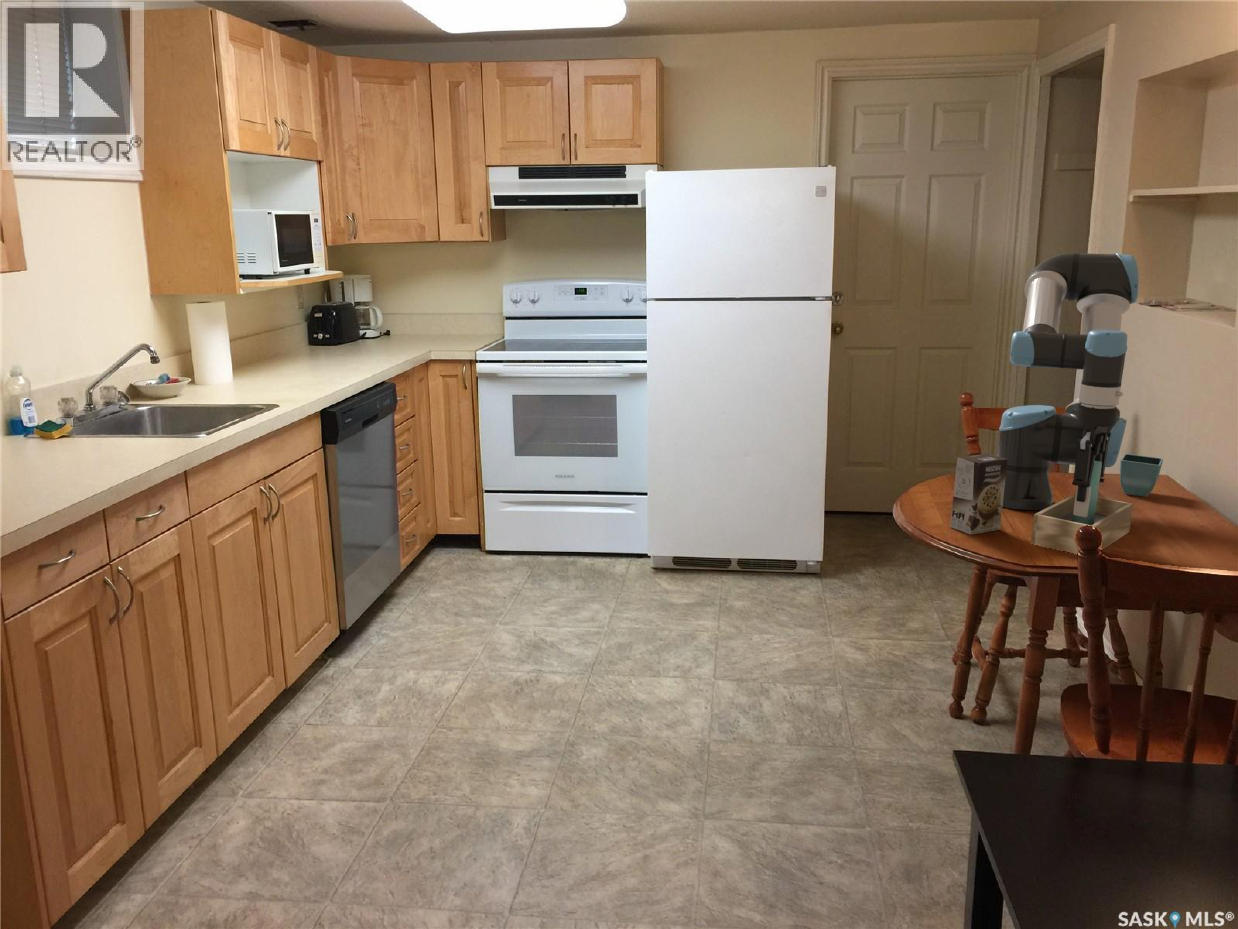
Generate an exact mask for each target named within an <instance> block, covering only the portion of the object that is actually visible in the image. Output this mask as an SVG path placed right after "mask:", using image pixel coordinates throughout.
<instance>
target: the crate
mask: <svg viewBox="0 0 1238 929" xmlns="http://www.w3.org/2000/svg"><path fill="white" fill-rule="evenodd" d="M1075 495H1076V492H1075V493H1073V494H1071V495H1069V496H1068V497H1066V498H1063V499H1062V500H1060V501H1058V502H1056V503H1053V504H1052V506H1050V507H1048V508H1046V509H1042V510H1039V512H1036V513H1034V514H1033V521H1032V530H1031V536H1030V537H1031V538H1030V545H1032V544H1033V545H1032V546H1036V545H1038V547H1041V546H1042V547H1041V548H1045V547H1046V548H1045V549H1049V548H1054V549H1059V550H1063V551H1070V552H1071V553H1074V554H1073V555H1075V554H1076V556H1078V555H1077V547H1076V544H1075V541H1074V535H1075V533H1076V531H1077V530H1078V528H1079V527H1082V526H1086V525H1087V524H1082V523H1077V522H1073V520H1074V515H1073V511H1074V503H1075ZM1133 508H1134V503H1132V502H1127V501H1121V500H1115V499H1111V498H1105V497H1101V496H1098V497H1097V504H1096V512H1095V519H1094V524H1093V525H1088V526H1092V527H1096V528H1098V529H1099V530H1100V531H1101V533H1102V539H1103V541H1102V547H1101V548H1104V549H1106V548H1107V547H1109V546H1111V545H1112V544H1113V543H1115V542H1117V541H1118V540H1119V539H1121V538H1123V537H1124V536H1126V535H1127V534H1128V533H1130V529H1131V522H1132V516H1133V510H1134V509H1133ZM1105 547H1106V548H1105ZM1054 549H1053V550H1054ZM1071 553H1070V554H1071Z"/></svg>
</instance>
